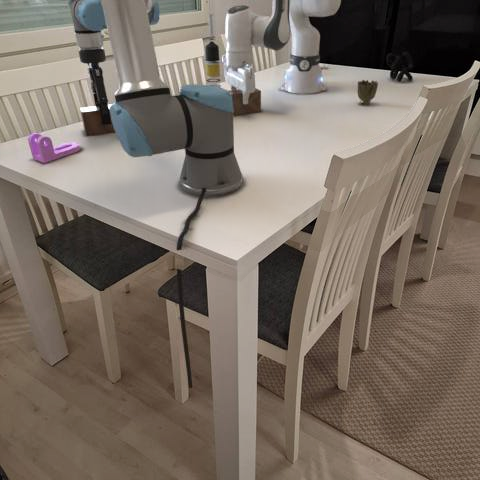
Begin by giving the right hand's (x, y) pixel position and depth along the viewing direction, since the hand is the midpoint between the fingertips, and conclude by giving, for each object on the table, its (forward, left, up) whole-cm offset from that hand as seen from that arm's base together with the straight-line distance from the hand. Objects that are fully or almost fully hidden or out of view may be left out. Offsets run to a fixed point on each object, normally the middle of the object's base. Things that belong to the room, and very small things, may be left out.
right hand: (239, 100), depth 160 cm
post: (+12, -21, -4) cm, 24 cm away
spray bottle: (-72, +24, -4) cm, 76 cm away
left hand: (+24, -42, 0) cm, 48 cm away
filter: (-22, -14, -4) cm, 27 cm away
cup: (-14, +46, -4) cm, 48 cm away
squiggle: (-55, +65, -4) cm, 86 cm away
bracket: (+46, -47, -4) cm, 66 cm away
